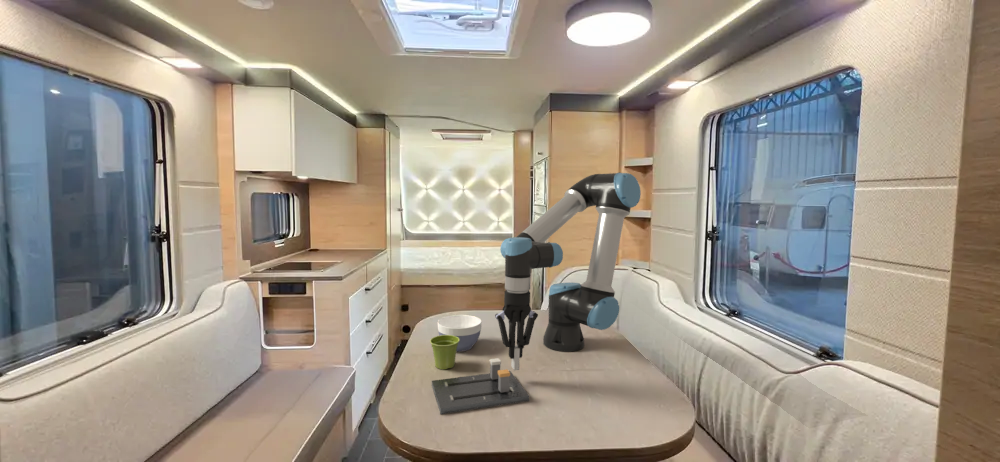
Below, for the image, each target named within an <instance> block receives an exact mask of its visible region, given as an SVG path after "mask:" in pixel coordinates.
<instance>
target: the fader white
mask: <svg viewBox="0 0 1000 462" xmlns="http://www.w3.org/2000/svg"><path fill="white" fill-rule="evenodd" d="M489 363H490V364H489V366H490V368H489V369H490V377H491V379H492V380H494V379H498V370H501V365H502V361H501V359H500V358H498V357H497V358H490V359H489Z"/></svg>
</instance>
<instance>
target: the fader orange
mask: <svg viewBox="0 0 1000 462" xmlns="http://www.w3.org/2000/svg"><path fill="white" fill-rule="evenodd" d="M509 371H510V370H509V369H507V368H506V369H500V370H498V390H499V391H500V393H501V392H508V391H509V376H510V372H511V371H510V372H509Z"/></svg>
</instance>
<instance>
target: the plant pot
mask: <svg viewBox="0 0 1000 462" xmlns="http://www.w3.org/2000/svg"><path fill="white" fill-rule="evenodd" d="M429 343H430V344H431V348H432V351H433V352H432V353H433V358H434V359H433V360H434V365H435V367H436V368H437V369H438V370H447V369H452V368H454V366H455V364H456V363H455V362H456V355H457V351H456V350H457V346H458V343H459V338H458V337H456V336H452V335H440V336H439V335H437V336H434V337H431V338H430V339H429Z"/></svg>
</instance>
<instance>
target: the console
mask: <svg viewBox="0 0 1000 462" xmlns="http://www.w3.org/2000/svg"><path fill="white" fill-rule="evenodd" d="M508 371H509V372H510V376H509V391H508V392H501V393H500V391H499V390H498V379H494V380H492V379H491V377H490V373H489V372H488V373H482V374H475V375H466V376H459V377H451V378H443V379H441V378H440V379H436V380H431V388H432V390H433V394H434V397H435V400H436V404H437V408H438V410H439V413H440V415H446V414H452V413H453V414H454V413H459V412H466V411H472V410H478V409H485V408H492V407H497V406H498V407H499V406H503V405H511V404H518V403H526V402H529V401H530V395H529V393H528V392H527V391H526V390H525V388H524V387H523V386H522V385H521V384H522V383H520V382H519V380H517V378H516V376H515V375H513V373H512V372H511V371H510V370H508Z"/></svg>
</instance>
